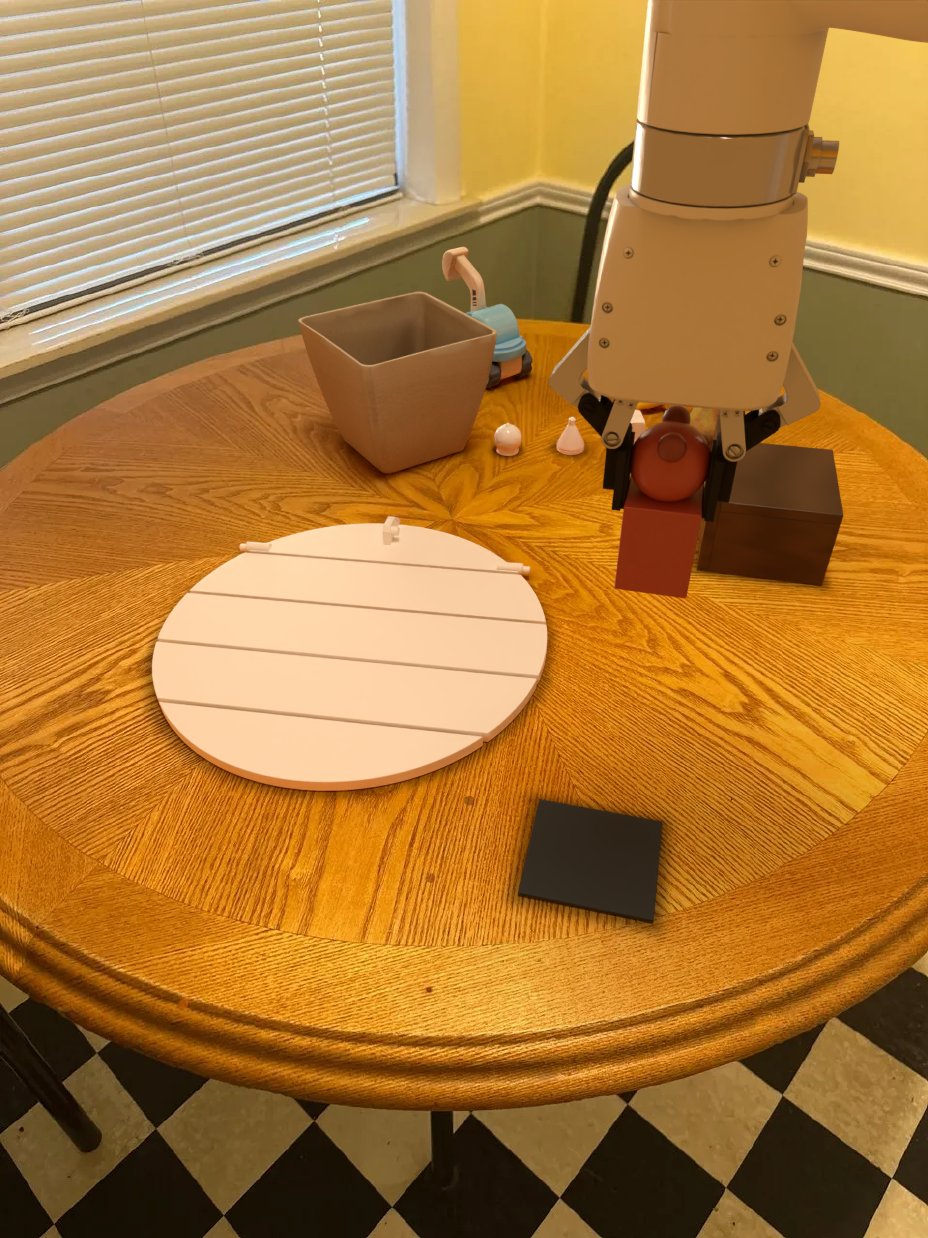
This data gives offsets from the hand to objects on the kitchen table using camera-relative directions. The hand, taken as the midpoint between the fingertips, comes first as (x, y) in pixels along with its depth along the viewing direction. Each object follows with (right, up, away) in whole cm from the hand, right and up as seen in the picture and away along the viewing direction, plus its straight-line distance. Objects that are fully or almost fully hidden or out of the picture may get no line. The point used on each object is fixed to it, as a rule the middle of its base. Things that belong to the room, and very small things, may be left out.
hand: (663, 501), depth 51 cm
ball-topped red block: (0, -4, +3) cm, 5 cm away
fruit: (+21, +16, +66) cm, 71 cm away
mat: (-2, -26, +16) cm, 30 cm away
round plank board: (-23, -9, +37) cm, 44 cm away
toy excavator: (-9, +33, +87) cm, 93 cm away
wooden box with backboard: (+23, +2, +48) cm, 53 cm away
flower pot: (-20, +17, +68) cm, 73 cm away
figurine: (+14, +25, +76) cm, 81 cm away
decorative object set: (+2, +16, +67) cm, 68 cm away
